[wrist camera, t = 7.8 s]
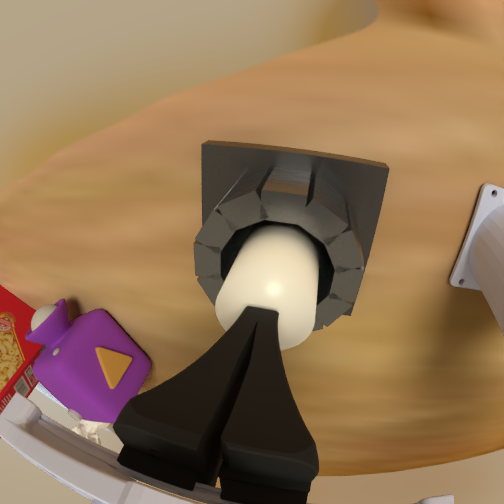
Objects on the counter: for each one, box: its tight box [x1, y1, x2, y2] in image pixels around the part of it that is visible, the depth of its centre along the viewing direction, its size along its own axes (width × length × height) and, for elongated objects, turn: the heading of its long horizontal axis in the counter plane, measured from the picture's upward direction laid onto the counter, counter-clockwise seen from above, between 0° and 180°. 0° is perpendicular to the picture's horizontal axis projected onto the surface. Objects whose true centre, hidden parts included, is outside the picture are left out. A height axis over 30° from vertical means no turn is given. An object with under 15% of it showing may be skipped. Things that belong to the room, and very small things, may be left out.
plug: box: [215, 220, 320, 350], centre depth 16 cm, size 4×4×6 cm
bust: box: [72, 419, 110, 445], centre depth 39 cm, size 12×8×11 cm
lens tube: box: [194, 140, 389, 331], centre depth 19 cm, size 11×11×5 cm
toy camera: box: [25, 299, 151, 423], centre depth 28 cm, size 11×14×10 cm
